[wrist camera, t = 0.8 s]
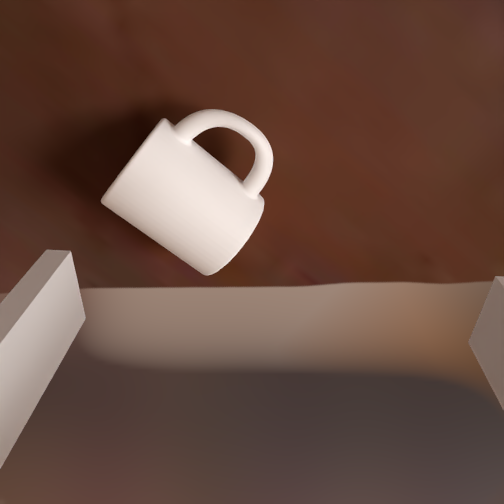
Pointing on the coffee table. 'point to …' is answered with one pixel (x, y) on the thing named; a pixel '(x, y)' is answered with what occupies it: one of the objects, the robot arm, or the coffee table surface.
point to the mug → (192, 191)
